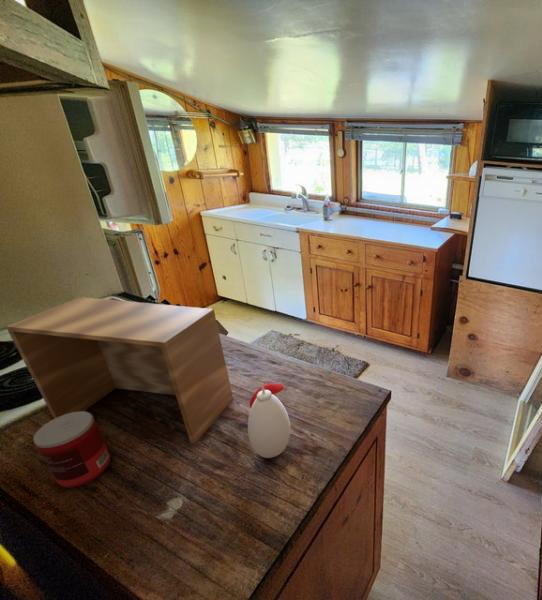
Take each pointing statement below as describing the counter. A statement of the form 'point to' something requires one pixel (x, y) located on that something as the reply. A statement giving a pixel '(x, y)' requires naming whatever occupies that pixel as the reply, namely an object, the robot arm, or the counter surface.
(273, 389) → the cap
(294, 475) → the counter surface
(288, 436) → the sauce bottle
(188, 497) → the counter surface
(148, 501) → the counter surface
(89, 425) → the canned food
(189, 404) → the cupboard
